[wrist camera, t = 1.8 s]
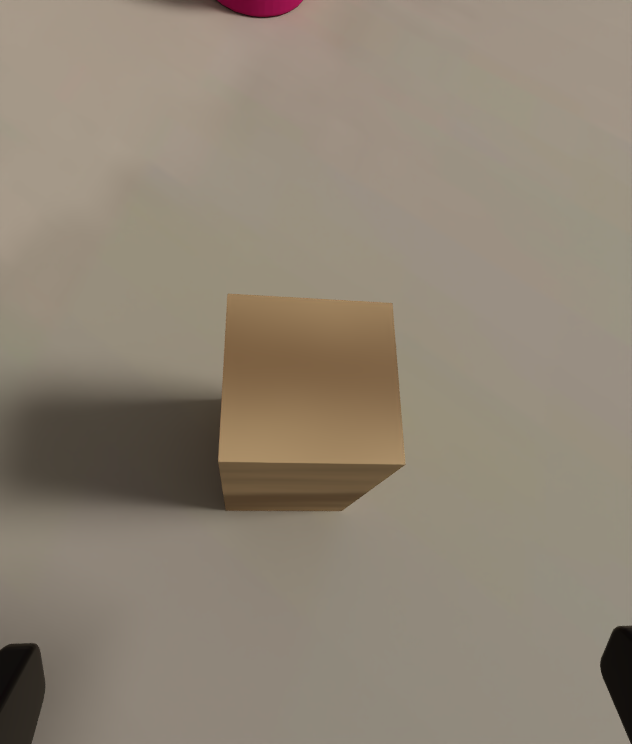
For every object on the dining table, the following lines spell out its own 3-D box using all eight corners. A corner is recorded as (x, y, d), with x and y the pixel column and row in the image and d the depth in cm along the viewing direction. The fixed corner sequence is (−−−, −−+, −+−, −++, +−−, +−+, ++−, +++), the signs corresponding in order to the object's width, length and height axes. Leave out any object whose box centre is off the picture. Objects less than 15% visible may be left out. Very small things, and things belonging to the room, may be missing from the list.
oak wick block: (341, 511, 21) (405, 464, 13) (225, 510, 20) (217, 461, 12) (338, 402, 22) (392, 302, 14) (231, 399, 22) (227, 293, 14)
